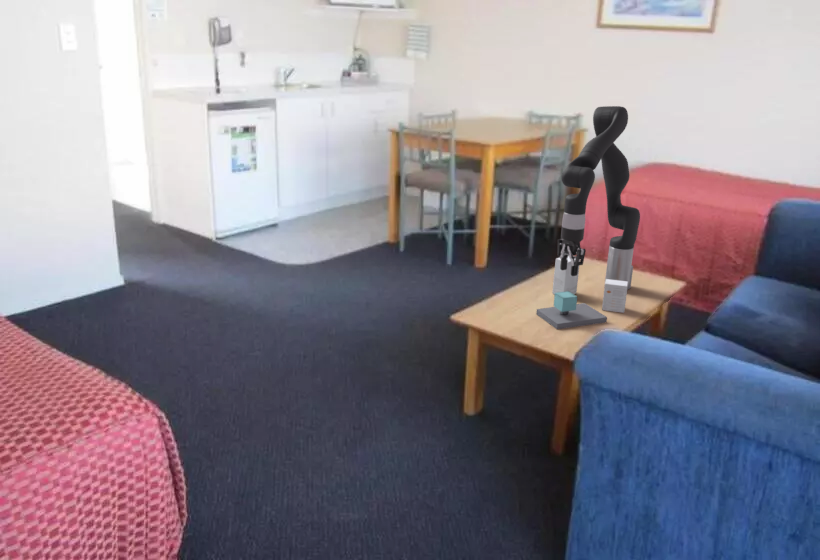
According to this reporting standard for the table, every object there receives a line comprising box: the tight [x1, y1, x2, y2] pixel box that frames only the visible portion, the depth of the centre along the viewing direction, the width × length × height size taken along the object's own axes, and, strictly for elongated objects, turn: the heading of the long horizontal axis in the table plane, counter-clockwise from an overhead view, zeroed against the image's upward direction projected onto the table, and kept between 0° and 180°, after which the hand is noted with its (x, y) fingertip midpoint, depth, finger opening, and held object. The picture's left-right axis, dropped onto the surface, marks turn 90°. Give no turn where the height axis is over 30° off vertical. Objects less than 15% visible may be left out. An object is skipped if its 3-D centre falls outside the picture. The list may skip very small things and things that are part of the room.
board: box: [535, 302, 608, 330], centre depth 242 cm, size 20×14×2 cm
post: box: [560, 311, 569, 315], centre depth 240 cm, size 3×3×6 cm
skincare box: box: [551, 256, 581, 295], centre depth 263 cm, size 8×6×15 cm
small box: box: [601, 279, 628, 314], centre depth 250 cm, size 8×6×10 cm
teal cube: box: [553, 291, 578, 312], centre depth 240 cm, size 6×6×5 cm
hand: (568, 272), depth 236 cm, fingers open, 6 cm apart
